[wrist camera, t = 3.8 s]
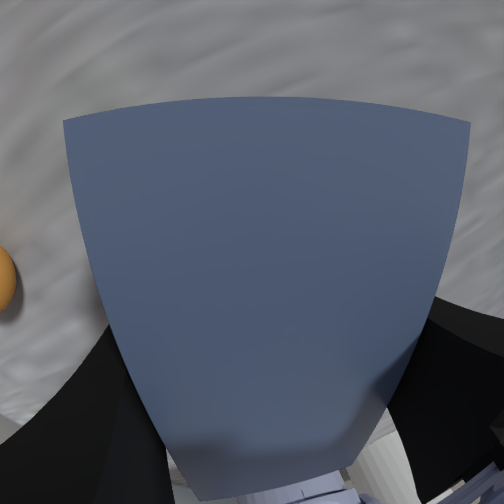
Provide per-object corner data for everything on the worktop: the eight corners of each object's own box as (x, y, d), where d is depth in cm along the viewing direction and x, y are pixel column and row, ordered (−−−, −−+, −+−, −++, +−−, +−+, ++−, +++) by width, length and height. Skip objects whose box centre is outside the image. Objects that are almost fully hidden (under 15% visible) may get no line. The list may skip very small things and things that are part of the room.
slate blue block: (306, 371, 14) (351, 465, 9) (183, 393, 13) (199, 501, 8) (329, 101, 8) (470, 122, 4) (131, 109, 7) (63, 120, 3)
